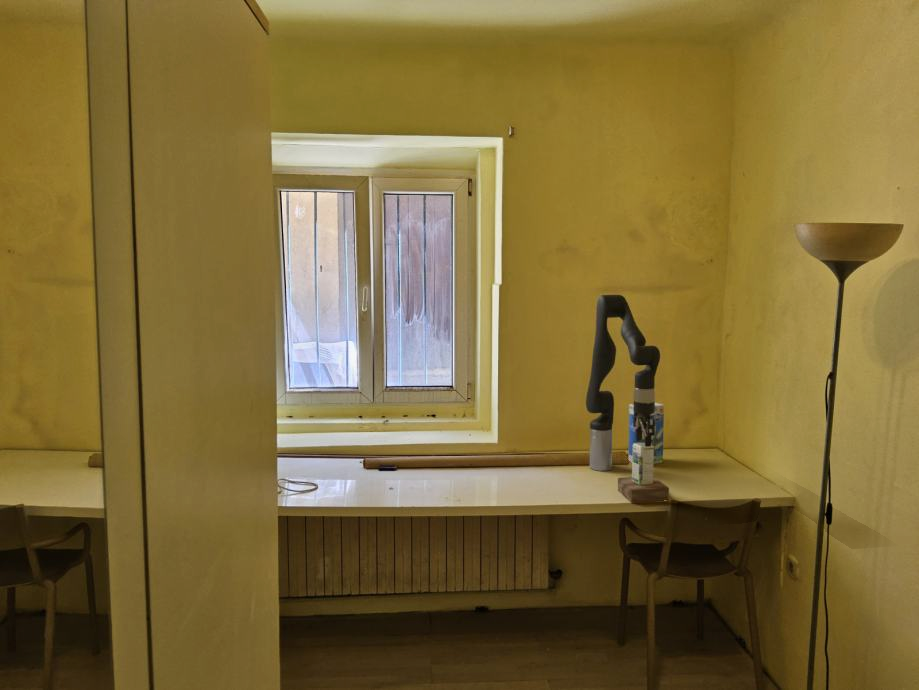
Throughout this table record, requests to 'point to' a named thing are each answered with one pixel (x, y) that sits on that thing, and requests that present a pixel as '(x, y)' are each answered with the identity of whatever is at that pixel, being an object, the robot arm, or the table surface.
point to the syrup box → (642, 464)
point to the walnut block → (643, 491)
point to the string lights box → (655, 440)
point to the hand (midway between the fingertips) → (643, 442)
